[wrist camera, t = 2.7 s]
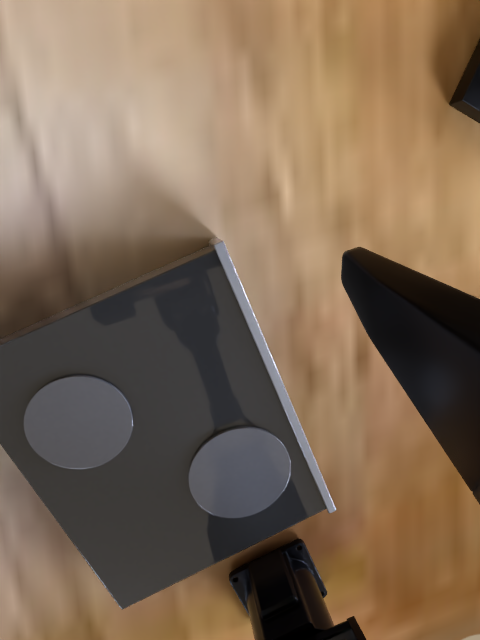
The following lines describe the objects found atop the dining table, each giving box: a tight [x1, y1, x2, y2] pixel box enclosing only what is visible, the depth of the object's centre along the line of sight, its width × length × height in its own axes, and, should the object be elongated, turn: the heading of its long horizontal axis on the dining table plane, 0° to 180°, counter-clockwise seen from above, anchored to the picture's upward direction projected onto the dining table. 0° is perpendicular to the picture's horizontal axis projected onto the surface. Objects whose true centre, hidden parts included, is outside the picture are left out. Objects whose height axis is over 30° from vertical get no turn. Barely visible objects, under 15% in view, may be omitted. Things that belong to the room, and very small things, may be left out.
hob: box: [0, 237, 336, 609], centre depth 26 cm, size 21×16×3 cm
